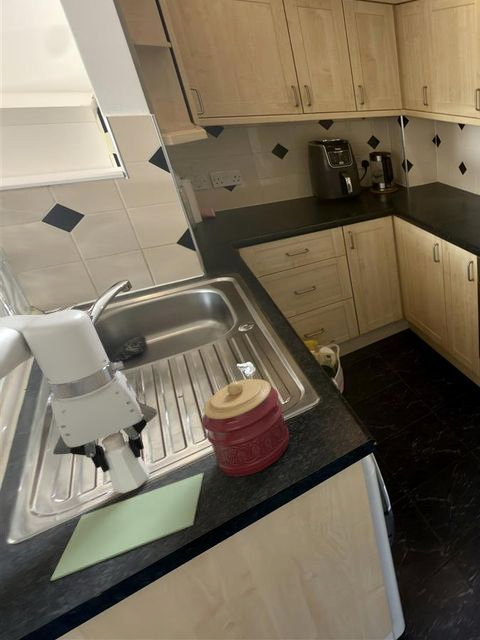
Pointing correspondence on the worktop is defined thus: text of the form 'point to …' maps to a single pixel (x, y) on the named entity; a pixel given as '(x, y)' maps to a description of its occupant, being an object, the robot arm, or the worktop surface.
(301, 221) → the worktop surface
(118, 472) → the pepper shaker
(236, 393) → the kitchen canister
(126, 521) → the mat
